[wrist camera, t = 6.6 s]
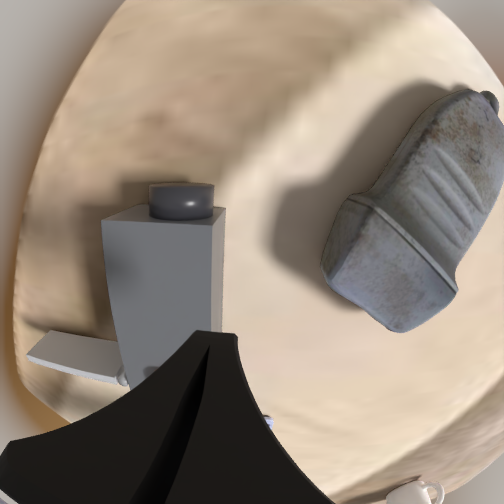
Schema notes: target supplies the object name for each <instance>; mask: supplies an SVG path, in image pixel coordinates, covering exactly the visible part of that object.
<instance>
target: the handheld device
mask: <svg viewBox="0 0 504 504" xmlns="http://www.w3.org/2000/svg"><path fill="white" fill-rule="evenodd" d="M498 111H499V102H498V100H497V98H496V97H495V95H494V94H492V93H491V92H489V91H482V92H480V93H478V92H476V91H473V90H461V91H458V92H456V93H453V94H450V95H448V96H445V97H443V98H441V99H439V100H437V101H436V102H435V103H433V104H432V105H431V106H430V107H428V108H427V109H426V110H425V111H424V112H423V113H422V114H421V115H420V117H419V118H418V119H417V120H416V122H415V123H414V125H413V126H412V127H411V129H410V130H409V132H408V133H407V135H406V137H405V138H404V140H403V141H402V143H401V145H400V146H399V147H398V149H397V151H396V153H395V154H394V156H393V157H392V159H391V160H390V161H389V163H388V164H387V166H386V168H385V169H384V171H383V172H382V174H381V175H380V177H379V178H378V180H377V181H376V183H375V184H374V186H373V187H372V188H371V189H370V190H368V191H367V192H364V193H359V194H353V195H350V196H349V197H348V198H347V200H346V201H345V202H344V203H343V204H342V206H341V208H340V210H339V212H338V214H337V217H336V219H335V222H334V225H333V227H332V230H331V232H330V235H329V238H328V241H327V244H326V247H325V250H324V253H323V256H322V260H321V264H320V267H321V270H322V273H323V275H324V278H325V280H326V282H327V284H328V286H329V287H330V288H331V289H332V290H333V291H334V292H336V293H337V294H339V295H341V296H343V297H344V298H346V299H348V300H349V301H351V302H353V303H355V304H356V305H358V306H359V307H361V308H362V309H363V310H364V311H366V312H367V313H368V314H369V315H370V316H371V317H372V318H374V319H375V320H376V321H378V322H379V323H381V324H382V325H384V326H385V327H386V328H387V329H388V330H390V331H393V332H397V333H405V332H408V331H410V330H412V329H414V328H416V327H418V326H419V325H421V324H423V323H424V322H426V321H428V320H429V319H430V318H432V317H433V316H435V315H436V314H438V313H439V312H440V311H442V310H443V309H444V308H445V307H447V306H448V305H449V304H450V303H451V301H452V300H453V299H454V297H455V295H456V293H457V292H458V287H457V284H456V281H455V271H456V268H457V266H458V264H459V263H460V261H461V259H462V258H463V256H464V255H465V254H466V252H467V251H468V249H469V247H470V246H471V244H472V243H473V241H474V240H475V238H476V236H477V235H478V233H479V232H480V230H481V228H482V226H483V225H484V223H485V221H486V219H487V218H488V216H489V214H490V212H491V210H492V208H493V206H494V204H495V202H496V200H497V198H498V195H499V193H500V190H501V187H502V184H503V181H504V125H503V123H502V122H501V121H500V119H499V118H498V116H497V115H498Z"/></svg>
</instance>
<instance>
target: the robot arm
mask: <svg viewBox="0 0 504 504" xmlns="http://www.w3.org/2000/svg"><path fill="white" fill-rule="evenodd" d="M272 426H273V418H271V417H263V415H262V413H261V411H260V409H259V407H258V405H257V403H256V401H255V399H254V397H253V394H252V392H251V390H250V387H249V385H248V382H247V380H246V377H245V374H244V371H243V368H242V364H241V361H240V356H239V351H238V337H237V336H236V335H235V334H234V333H223V332H212V331H203V330H196V331H194V332H193V333H192V334H191V335H190V337H189V338H188V339H187V340H186V341H185V342H184V343H183V344H182V345H181V346H180V347H179V348H178V349H177V350H176V352H175V353H174V354H173V355H171V356H170V357H169V358H168V359H167V360H166V361H165V362H164V363H163V364H162V365H161V366H160V367H159V368H158V369H157V370H155V371H154V372H153V373H152V374H151V375H150V376H148V377H147V378H146V379H145V380H144V381H142V382H141V383H140V384H139V385H137V386H136V387H135V388H133V389H132V390H131V391H129V392H128V393H126V394H125V395H123V396H122V397H120V398H119V399H117V400H116V401H114V402H113V403H111V404H109V405H108V406H106V407H104V408H102V409H101V410H99V411H97V412H95V413H93V414H91V415H89V416H87V417H85V418H83V419H81V420H79V421H76V422H74V423H72V424H69V425H67V426H64V427H61V428H59V429H56V430H53V431H50V432H47V433H44V434H40V435H36V436H32V437H27V438H23V439H19V440H14V441H10V442H9V443H8V445H7V446H6V448H5V449H4V451H3V452H2V454H1V456H0V489H1V490H2V491H3V492H4V493H5V494H7V495H8V496H9V497H10V498H12V499H13V500H14V501H16V502H17V503H18V504H335V503H334V502H333V501H331V500H330V499H329V498H328V497H327V496H326V495H325V494H324V493H323V492H322V491H321V490H319V489H318V488H317V487H316V486H315V485H314V484H313V482H312V481H311V480H310V479H309V478H308V477H307V476H306V475H305V474H304V473H303V472H302V471H301V469H300V468H299V467H298V466H297V465H296V463H295V462H294V461H293V459H292V458H291V457H290V456H289V454H288V453H287V452H286V450H285V449H284V448H283V447H282V445H281V444H280V442H279V441H278V440H277V438H276V436H275V435H274V433H273V432H272ZM0 504H7V503H6V502H4V501H3V500H2V499H1V498H0Z"/></svg>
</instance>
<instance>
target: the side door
mask: <svg viewBox="0 0 504 504" xmlns="http://www.w3.org/2000/svg"><path fill="white" fill-rule="evenodd" d="M26 356H27V358H28V360H29V361H31V362H34V363H36V364H39V365H43V366H46V367H49V368H53V369H56V370H59V371H63V372H66V373H70V374H74V375H77V376H81V377H85V378H89V379H94V380H98V381H102V382H107V383H112V384H118V382H119V384H120V385H122V386H128V380H127V377H126V373H125V369H124V365H123V361H122V357H121V353H120V349H119V345H118V341H111V340H104V339H97V338H91V337H85V336H79V335H74V334H68V333H63V332H58V331H53V330H50V331H49V332H48V333H47V334H46V335H45V336H44V337H43V338H42V339H41V340H40V341H39V342H38V343H37V344H36V345H35V346H34V347H33V348H32V349H31V350H30V351H29V352H28V353H27V354H26Z"/></svg>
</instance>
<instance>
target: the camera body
mask: <svg viewBox="0 0 504 504" xmlns="http://www.w3.org/2000/svg"><path fill="white" fill-rule="evenodd" d="M213 203H214V185H211V184H205V183H187V182H175V183H158V184H152V185H149V205H141V204H138V205H136V206H133V207H131V208H128V209H126V210H124V211H121V212H119V213H117V214H114V215H112V216H110V217H107V218H105V219H103V220H101V229H102V242H103V252H104V262H105V270H106V278H107V285H108V292H109V298H110V304H111V310H112V316H113V321H114V326H115V331H116V336H117V340H118V345H119V349H120V353H121V357H122V361H123V365H124V369H125V373H126V377H127V380H128V384H129V387H130V390H132V389H133V388H135V387H136V386H137V385H139V384H140V383H141V382H142V381H144V380H145V379H146V378H147V377H148V376H150V375H151V374H152V373H153V372H154V371H155V370H157V369H158V368H159V367H160V366H161V365H162V364H163V363H164V362H165V361H166V360H167V359H168V358H169V357H170V356H171V355H173V354H174V353H175V352H176V350H177V349H178V348H179V347H180V346H181V345H182V344H183V343H184V342H185V341H186V340H187V339H188V338H189V337H190V335H191V334H192V333H193V332H194V331H196V330H203V331H212V332H222V298H223V263H224V236H225V213H226V208H215V207H213Z"/></svg>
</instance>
